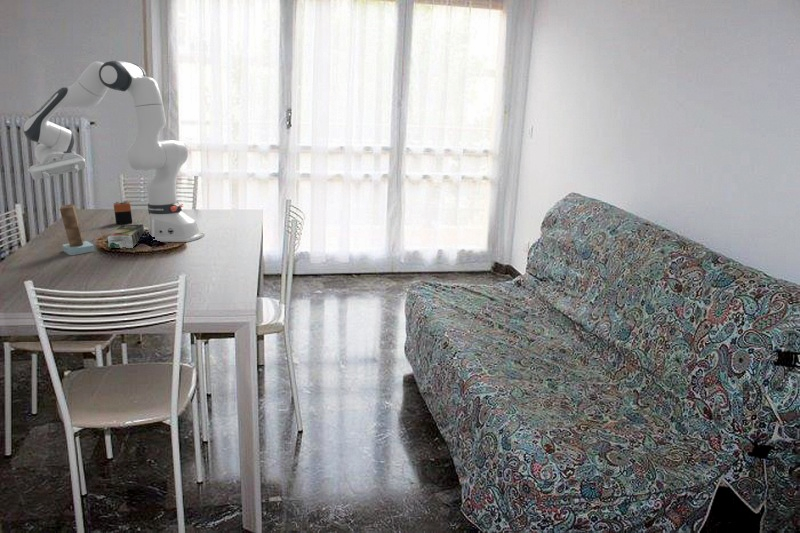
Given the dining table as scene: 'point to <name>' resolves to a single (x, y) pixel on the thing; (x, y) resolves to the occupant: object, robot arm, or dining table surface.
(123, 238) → the juice carton
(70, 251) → the teal block
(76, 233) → the walnut post
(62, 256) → the dining table surface
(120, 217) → the battery
